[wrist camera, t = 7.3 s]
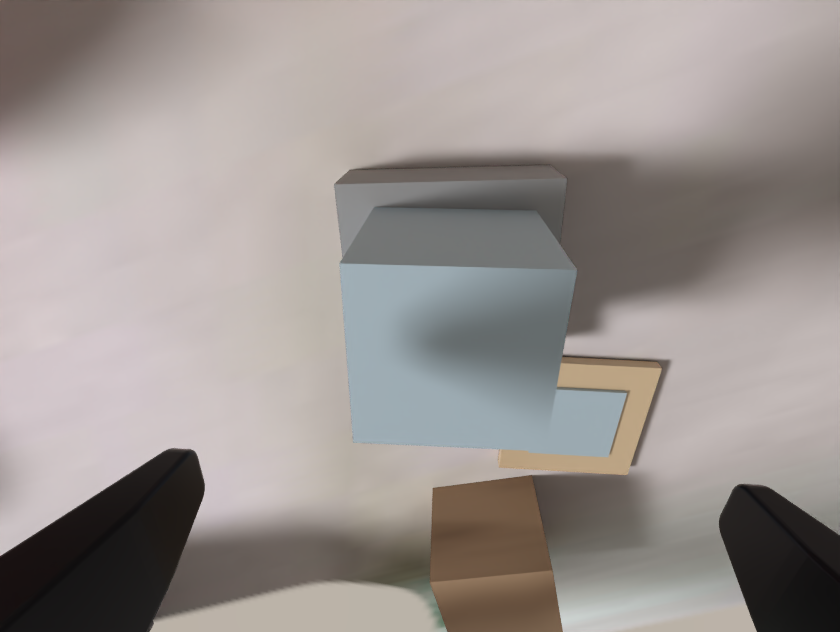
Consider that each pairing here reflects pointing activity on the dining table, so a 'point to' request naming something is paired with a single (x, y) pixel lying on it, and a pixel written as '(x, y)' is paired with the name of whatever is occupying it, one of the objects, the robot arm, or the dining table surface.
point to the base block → (450, 192)
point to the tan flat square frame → (593, 417)
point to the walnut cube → (492, 558)
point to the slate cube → (455, 327)
